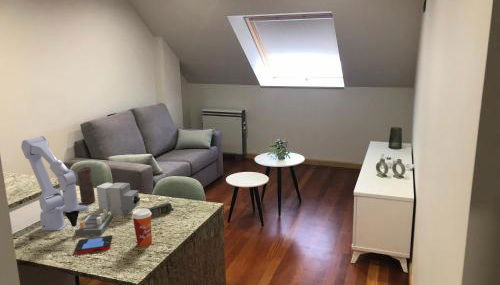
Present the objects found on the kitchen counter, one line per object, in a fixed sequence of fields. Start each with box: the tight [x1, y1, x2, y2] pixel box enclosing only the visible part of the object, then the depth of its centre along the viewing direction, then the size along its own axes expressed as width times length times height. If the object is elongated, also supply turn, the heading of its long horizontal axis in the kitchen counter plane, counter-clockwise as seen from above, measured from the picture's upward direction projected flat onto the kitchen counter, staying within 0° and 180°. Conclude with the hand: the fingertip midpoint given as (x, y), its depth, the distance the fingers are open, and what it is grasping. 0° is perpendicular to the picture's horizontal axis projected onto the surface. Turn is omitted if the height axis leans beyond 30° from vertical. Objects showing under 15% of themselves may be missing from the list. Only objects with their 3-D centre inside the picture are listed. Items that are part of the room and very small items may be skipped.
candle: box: [76, 166, 96, 204], centre depth 221 cm, size 8×7×20 cm
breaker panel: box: [74, 209, 114, 236], centre depth 193 cm, size 12×17×6 cm
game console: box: [74, 234, 114, 255], centre depth 176 cm, size 14×13×2 cm
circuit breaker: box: [108, 182, 141, 217], centre depth 207 cm, size 8×14×15 cm, turn 78°
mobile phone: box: [148, 202, 174, 219], centre depth 206 cm, size 5×3×15 cm
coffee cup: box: [131, 208, 153, 248], centre depth 175 cm, size 8×8×15 cm
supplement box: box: [95, 181, 114, 212], centre depth 215 cm, size 7×7×13 cm
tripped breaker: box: [79, 220, 85, 229], centre depth 186 cm, size 2×2×3 cm
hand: (74, 225), depth 186 cm, fingers closed
